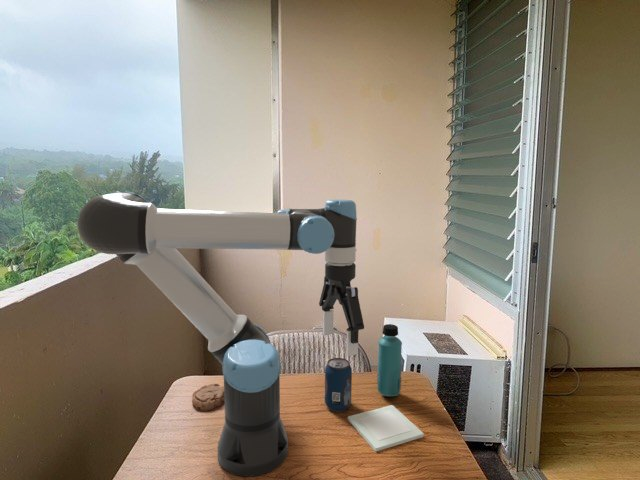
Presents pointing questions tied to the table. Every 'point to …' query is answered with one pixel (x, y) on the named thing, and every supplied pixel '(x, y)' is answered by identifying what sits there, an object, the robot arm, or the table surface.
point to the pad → (385, 427)
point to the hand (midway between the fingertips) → (339, 343)
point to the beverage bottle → (389, 362)
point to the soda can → (338, 384)
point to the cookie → (208, 397)
